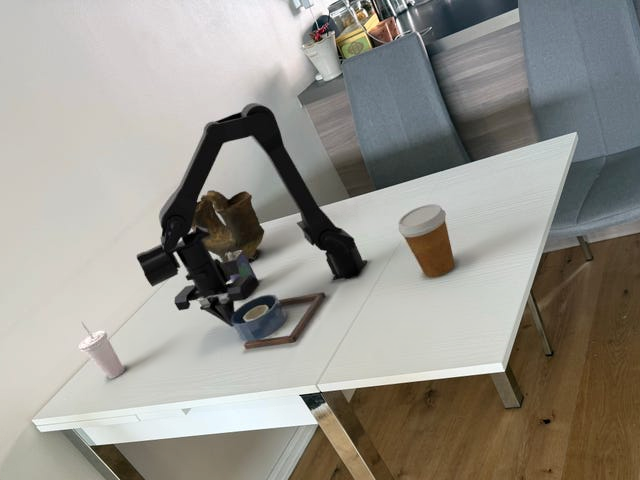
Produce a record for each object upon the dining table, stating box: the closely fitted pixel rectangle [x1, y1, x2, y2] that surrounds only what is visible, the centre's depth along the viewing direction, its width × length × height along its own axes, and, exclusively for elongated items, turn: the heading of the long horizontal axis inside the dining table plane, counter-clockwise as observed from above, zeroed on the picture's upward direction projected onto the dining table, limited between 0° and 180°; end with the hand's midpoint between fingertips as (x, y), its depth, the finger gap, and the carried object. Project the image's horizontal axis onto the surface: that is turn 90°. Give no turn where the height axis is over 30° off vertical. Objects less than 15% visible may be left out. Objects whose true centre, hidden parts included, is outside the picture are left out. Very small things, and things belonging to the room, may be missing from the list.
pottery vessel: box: [191, 189, 265, 262], centre depth 179 cm, size 25×11×20 cm, turn 56°
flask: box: [225, 250, 260, 284], centre depth 162 cm, size 9×3×11 cm, turn 172°
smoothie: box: [78, 321, 125, 379], centre depth 151 cm, size 6×6×14 cm
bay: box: [243, 291, 326, 350], centre depth 142 cm, size 12×16×2 cm
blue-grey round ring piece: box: [231, 294, 288, 342], centre depth 143 cm, size 11×11×5 cm
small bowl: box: [243, 305, 270, 322], centre depth 143 cm, size 6×6×3 cm
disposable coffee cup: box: [397, 203, 456, 278], centre depth 133 cm, size 10×10×12 cm
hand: (234, 325), depth 147 cm, fingers closed
